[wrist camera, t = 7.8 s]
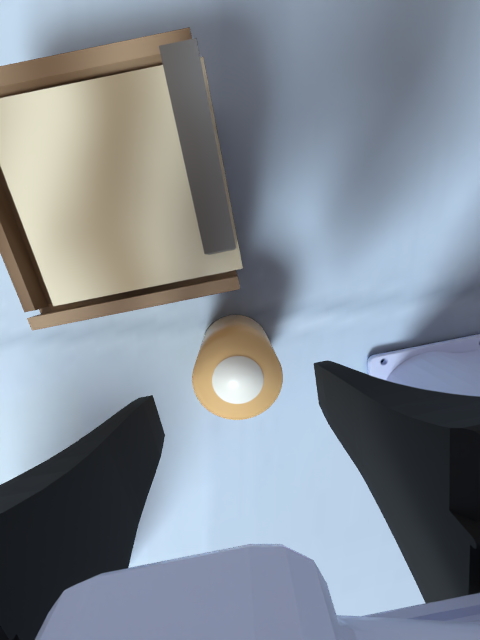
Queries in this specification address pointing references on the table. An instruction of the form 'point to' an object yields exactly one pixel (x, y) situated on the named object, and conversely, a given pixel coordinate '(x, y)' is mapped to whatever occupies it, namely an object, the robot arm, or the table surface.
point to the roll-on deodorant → (236, 369)
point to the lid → (121, 179)
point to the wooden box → (4, 221)
